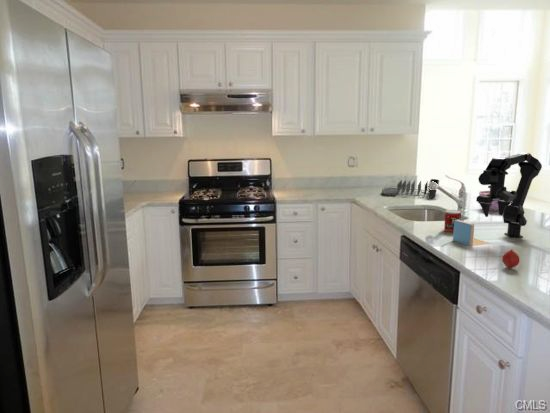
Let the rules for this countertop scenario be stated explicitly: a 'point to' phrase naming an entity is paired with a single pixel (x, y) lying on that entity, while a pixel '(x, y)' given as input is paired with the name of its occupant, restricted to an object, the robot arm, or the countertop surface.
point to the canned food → (451, 219)
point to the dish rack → (407, 187)
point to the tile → (463, 232)
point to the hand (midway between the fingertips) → (493, 216)
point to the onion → (510, 259)
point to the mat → (478, 242)
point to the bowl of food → (494, 204)
